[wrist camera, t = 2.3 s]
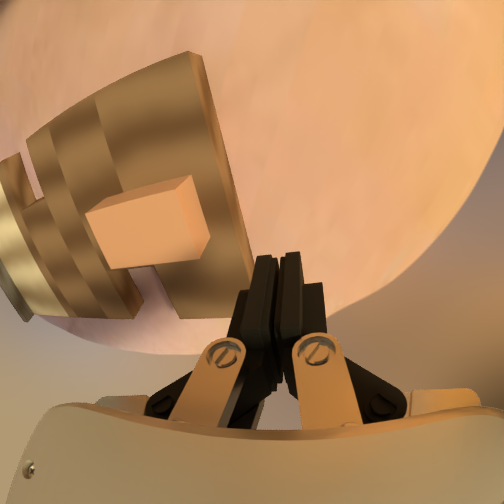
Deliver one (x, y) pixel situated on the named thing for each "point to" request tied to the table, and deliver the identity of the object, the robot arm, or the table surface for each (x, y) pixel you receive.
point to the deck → (115, 182)
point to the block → (151, 224)
